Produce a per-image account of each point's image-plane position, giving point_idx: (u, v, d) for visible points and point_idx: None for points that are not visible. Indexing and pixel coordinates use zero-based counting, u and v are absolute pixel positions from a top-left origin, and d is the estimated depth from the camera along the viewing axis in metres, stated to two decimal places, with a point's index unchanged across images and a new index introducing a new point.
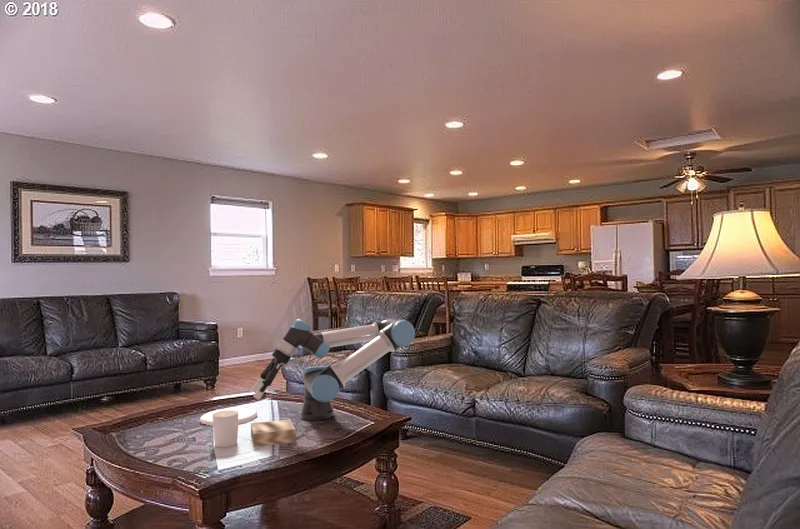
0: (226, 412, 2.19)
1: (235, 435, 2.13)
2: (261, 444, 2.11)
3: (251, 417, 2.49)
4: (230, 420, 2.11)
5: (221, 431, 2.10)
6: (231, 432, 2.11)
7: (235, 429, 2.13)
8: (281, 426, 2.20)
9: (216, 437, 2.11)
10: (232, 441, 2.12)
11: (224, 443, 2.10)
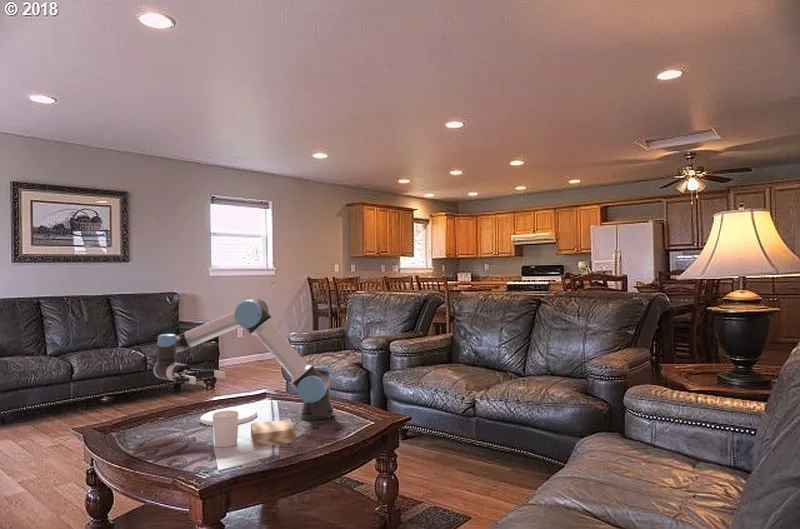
0: (226, 412, 2.19)
1: (235, 435, 2.13)
2: (261, 444, 2.11)
3: (251, 417, 2.49)
4: (230, 420, 2.11)
5: (221, 431, 2.10)
6: (231, 432, 2.11)
7: (235, 429, 2.13)
8: (281, 426, 2.20)
9: (216, 437, 2.11)
10: (232, 441, 2.12)
11: (224, 443, 2.10)
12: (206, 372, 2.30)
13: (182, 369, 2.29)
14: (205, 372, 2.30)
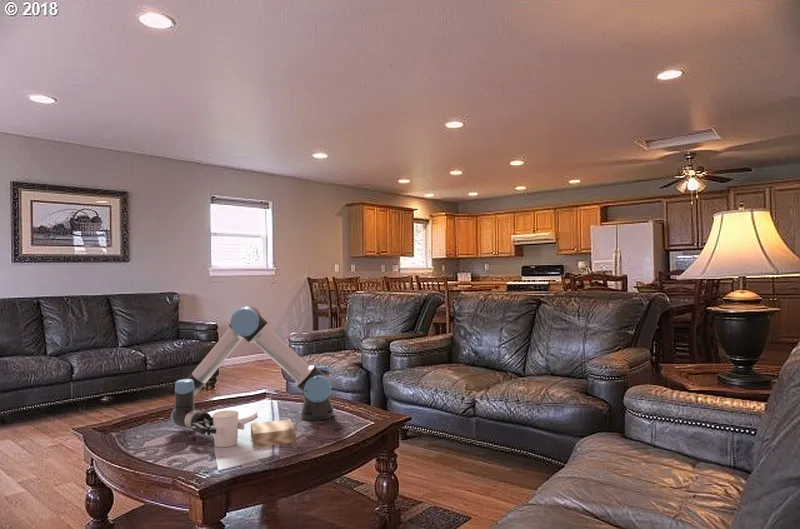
0: (226, 412, 2.19)
1: (235, 435, 2.13)
2: (261, 444, 2.11)
3: (251, 417, 2.49)
4: (230, 420, 2.11)
5: None
6: (231, 432, 2.11)
7: (235, 429, 2.13)
8: (281, 426, 2.20)
9: (216, 437, 2.11)
10: (232, 441, 2.12)
11: (224, 443, 2.10)
12: None
13: (201, 418, 2.22)
14: None
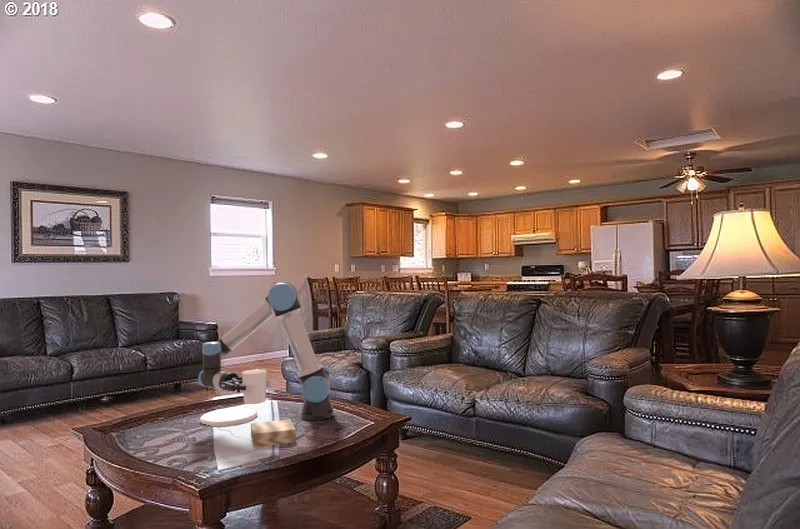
0: (254, 371, 2.23)
1: (264, 392, 2.17)
2: (261, 444, 2.11)
3: (251, 417, 2.49)
4: (259, 377, 2.15)
5: None
6: (260, 389, 2.15)
7: (264, 386, 2.17)
8: (281, 426, 2.20)
9: (246, 394, 2.15)
10: (261, 398, 2.16)
11: (254, 400, 2.14)
12: None
13: (229, 377, 2.26)
14: None
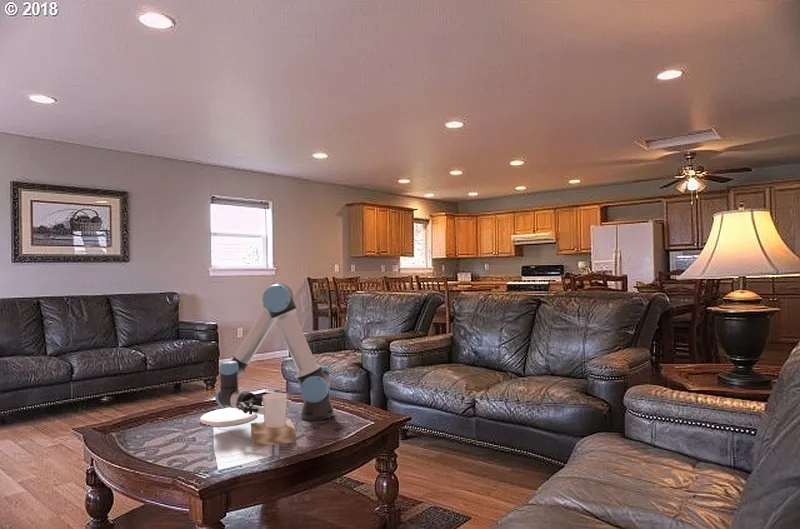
0: (274, 394, 2.26)
1: (284, 416, 2.20)
2: (261, 444, 2.11)
3: (251, 417, 2.49)
4: (280, 401, 2.18)
5: (271, 412, 2.17)
6: (281, 413, 2.19)
7: (284, 410, 2.20)
8: None
9: (266, 418, 2.18)
10: (281, 422, 2.19)
11: (274, 424, 2.17)
12: None
13: (247, 398, 2.28)
14: None
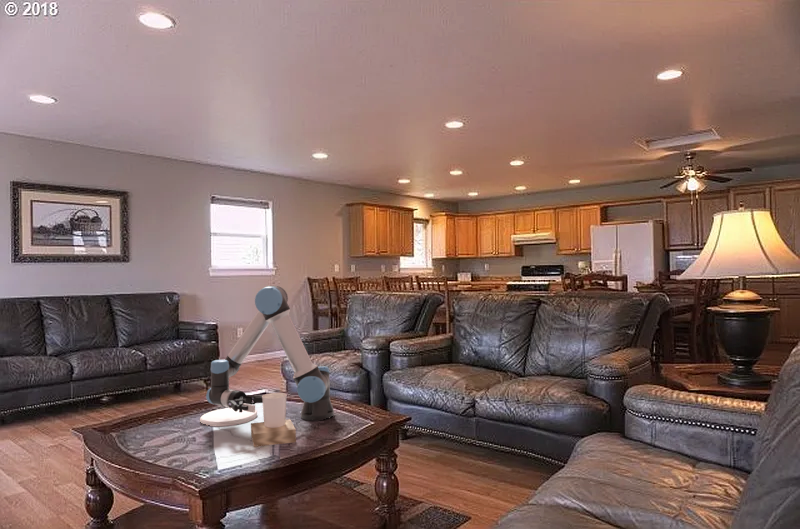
0: (273, 394, 2.26)
1: (284, 416, 2.21)
2: (261, 444, 2.11)
3: (251, 417, 2.49)
4: (280, 401, 2.18)
5: (272, 412, 2.17)
6: (281, 413, 2.19)
7: (284, 410, 2.21)
8: None
9: (266, 418, 2.18)
10: (282, 422, 2.19)
11: (275, 423, 2.18)
12: (261, 399, 2.31)
13: (237, 396, 2.30)
14: (260, 399, 2.31)
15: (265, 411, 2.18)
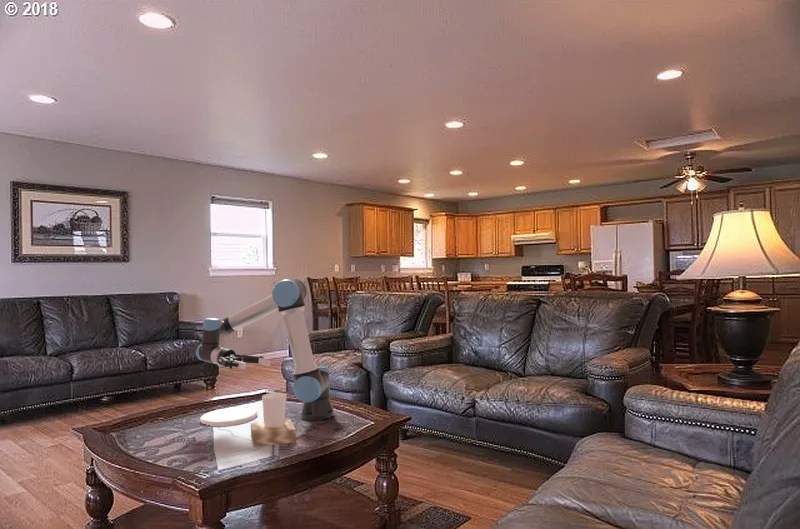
0: (273, 394, 2.26)
1: (284, 416, 2.21)
2: (261, 444, 2.11)
3: (251, 417, 2.49)
4: (280, 401, 2.18)
5: (272, 412, 2.17)
6: (281, 413, 2.19)
7: (284, 410, 2.21)
8: None
9: (266, 418, 2.18)
10: (282, 422, 2.19)
11: (275, 423, 2.18)
12: (251, 359, 2.36)
13: (228, 354, 2.35)
14: (250, 359, 2.36)
15: (265, 411, 2.18)
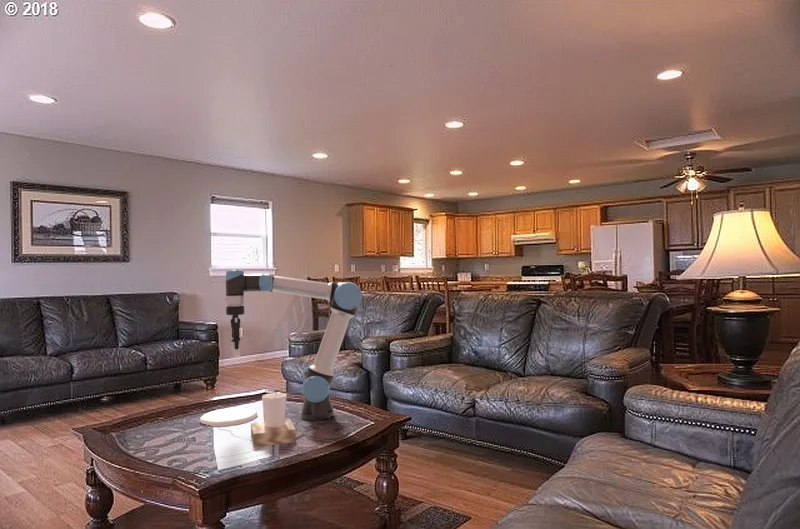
0: (273, 394, 2.26)
1: (284, 416, 2.21)
2: (261, 444, 2.11)
3: (251, 417, 2.49)
4: (280, 401, 2.18)
5: (272, 412, 2.17)
6: (281, 413, 2.19)
7: (284, 410, 2.21)
8: None
9: (266, 418, 2.18)
10: (282, 422, 2.19)
11: (275, 423, 2.18)
12: None
13: (240, 314, 2.36)
14: None
15: (265, 411, 2.18)
